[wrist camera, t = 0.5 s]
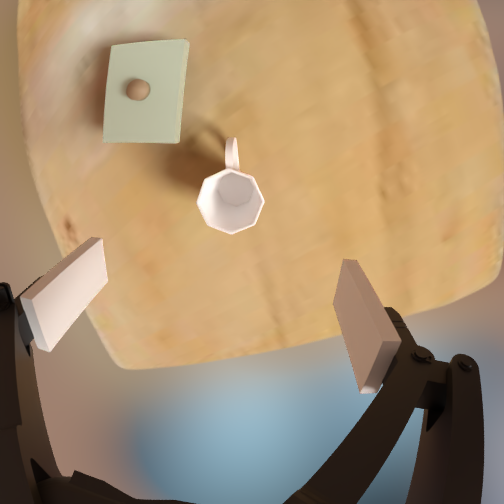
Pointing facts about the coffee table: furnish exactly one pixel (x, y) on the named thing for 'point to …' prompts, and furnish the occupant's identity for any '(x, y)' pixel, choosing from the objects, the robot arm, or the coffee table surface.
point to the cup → (230, 196)
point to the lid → (145, 92)
